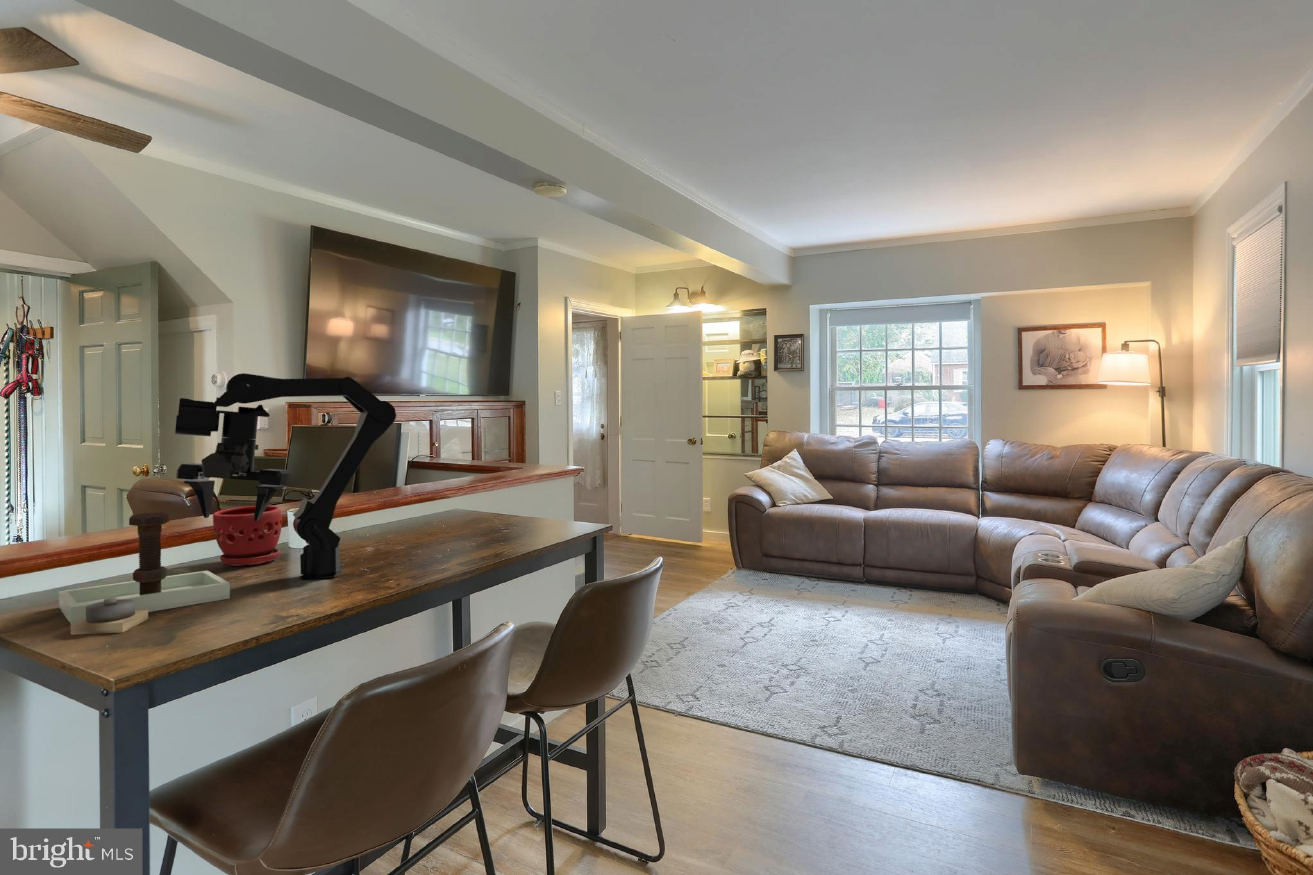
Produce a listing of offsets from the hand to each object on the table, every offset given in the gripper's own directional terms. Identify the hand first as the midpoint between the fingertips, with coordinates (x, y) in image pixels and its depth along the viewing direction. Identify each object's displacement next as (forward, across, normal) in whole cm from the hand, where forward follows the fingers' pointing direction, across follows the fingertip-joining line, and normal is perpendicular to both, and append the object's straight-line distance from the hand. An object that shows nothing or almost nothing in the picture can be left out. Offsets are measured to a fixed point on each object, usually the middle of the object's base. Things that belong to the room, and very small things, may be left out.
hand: (231, 519), depth 133 cm
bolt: (+14, -7, -11) cm, 19 cm away
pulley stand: (+15, -5, -24) cm, 29 cm away
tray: (+14, -8, -10) cm, 19 cm away
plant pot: (+13, -6, +23) cm, 27 cm away
